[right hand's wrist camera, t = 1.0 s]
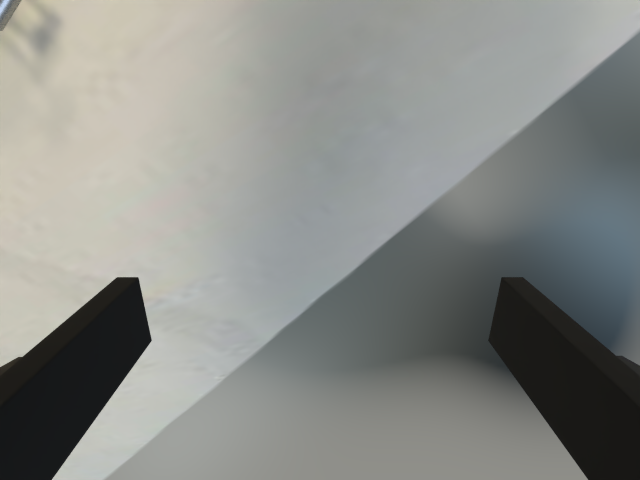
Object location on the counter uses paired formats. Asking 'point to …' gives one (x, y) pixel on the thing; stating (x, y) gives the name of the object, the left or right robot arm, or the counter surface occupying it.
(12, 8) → the drawer
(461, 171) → the counter surface
